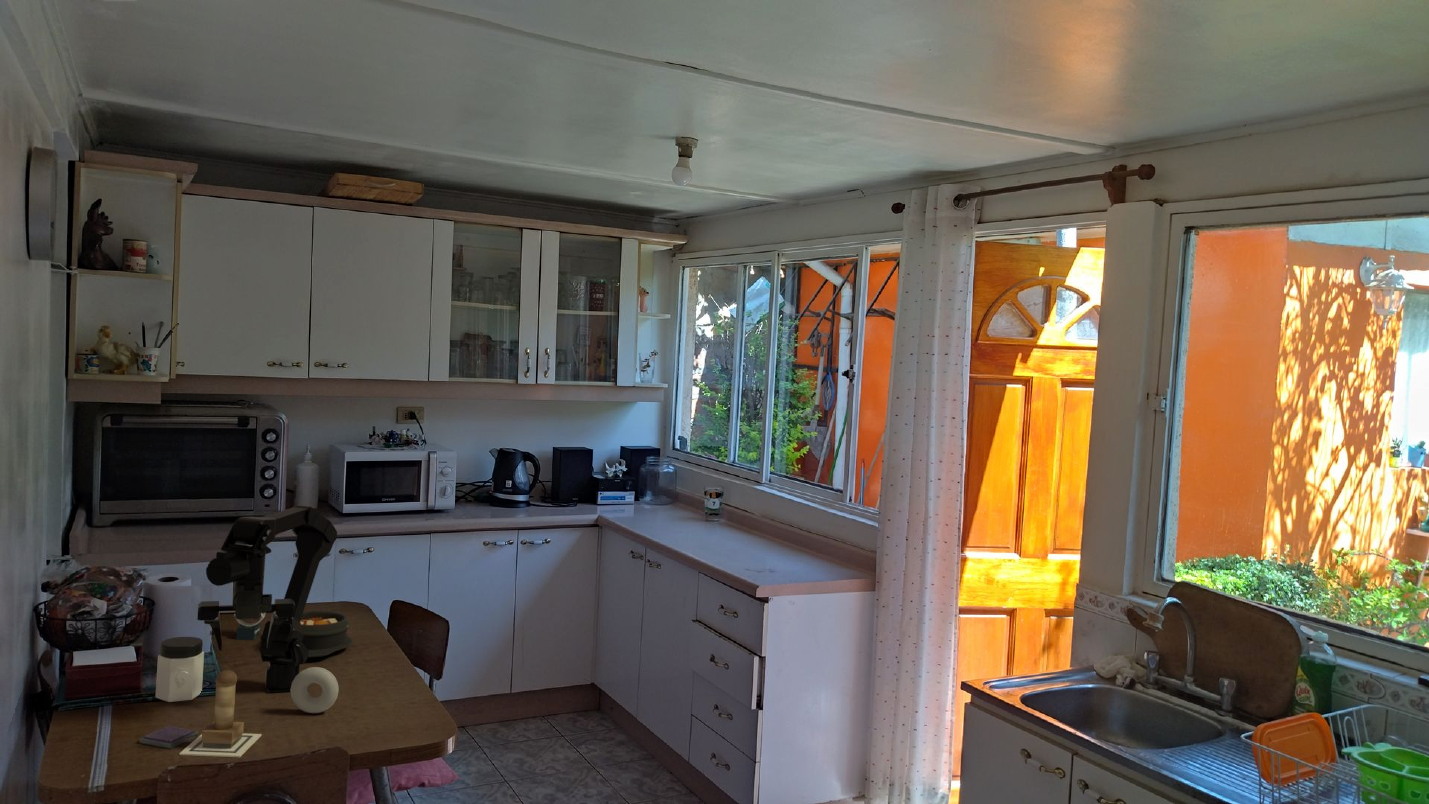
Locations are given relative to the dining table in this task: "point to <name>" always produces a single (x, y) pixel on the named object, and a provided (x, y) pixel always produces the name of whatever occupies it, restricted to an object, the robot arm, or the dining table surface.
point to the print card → (235, 751)
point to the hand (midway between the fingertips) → (244, 649)
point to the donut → (309, 702)
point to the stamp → (223, 715)
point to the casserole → (324, 632)
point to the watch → (248, 629)
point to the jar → (180, 669)
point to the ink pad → (168, 737)
